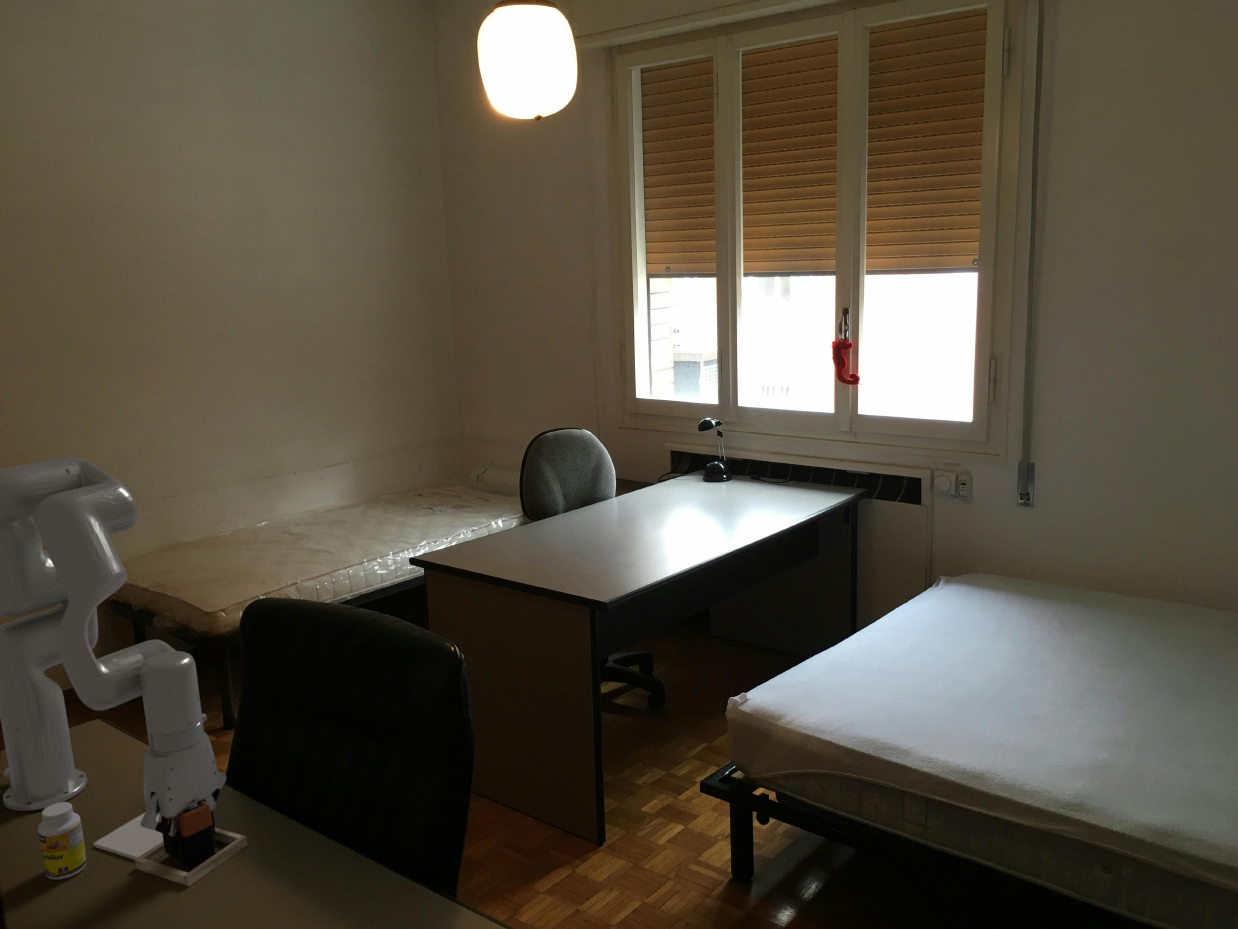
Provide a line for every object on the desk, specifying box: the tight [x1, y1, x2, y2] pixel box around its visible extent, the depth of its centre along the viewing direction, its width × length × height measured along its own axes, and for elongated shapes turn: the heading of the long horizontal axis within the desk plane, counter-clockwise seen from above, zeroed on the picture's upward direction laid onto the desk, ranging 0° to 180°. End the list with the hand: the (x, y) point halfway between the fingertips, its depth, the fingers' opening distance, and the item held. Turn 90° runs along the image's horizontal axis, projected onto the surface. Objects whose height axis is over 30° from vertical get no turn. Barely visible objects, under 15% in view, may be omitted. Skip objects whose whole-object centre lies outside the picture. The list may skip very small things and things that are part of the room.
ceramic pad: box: [93, 812, 163, 861], centre depth 154 cm, size 10×10×1 cm
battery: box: [167, 800, 217, 871], centre depth 147 cm, size 4×7×10 cm, turn 51°
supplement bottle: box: [37, 801, 88, 881], centre depth 145 cm, size 6×6×10 cm
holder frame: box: [134, 827, 248, 887], centre depth 148 cm, size 11×11×2 cm
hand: (191, 843), depth 148 cm, fingers closed on battery, 5 cm apart
